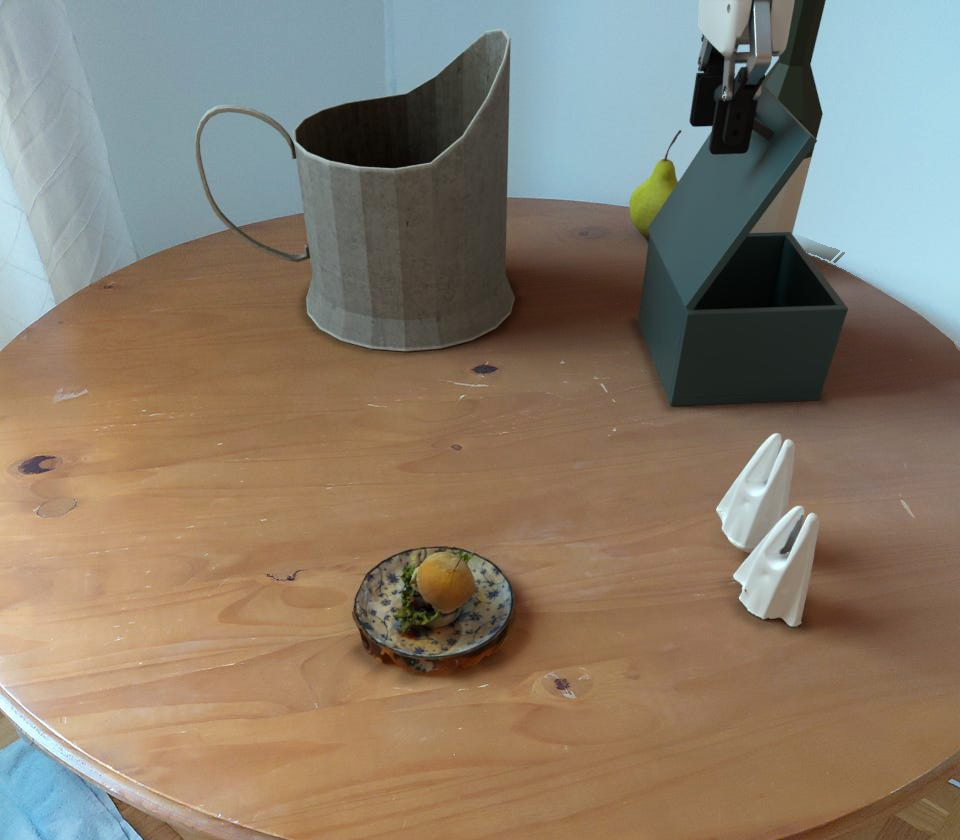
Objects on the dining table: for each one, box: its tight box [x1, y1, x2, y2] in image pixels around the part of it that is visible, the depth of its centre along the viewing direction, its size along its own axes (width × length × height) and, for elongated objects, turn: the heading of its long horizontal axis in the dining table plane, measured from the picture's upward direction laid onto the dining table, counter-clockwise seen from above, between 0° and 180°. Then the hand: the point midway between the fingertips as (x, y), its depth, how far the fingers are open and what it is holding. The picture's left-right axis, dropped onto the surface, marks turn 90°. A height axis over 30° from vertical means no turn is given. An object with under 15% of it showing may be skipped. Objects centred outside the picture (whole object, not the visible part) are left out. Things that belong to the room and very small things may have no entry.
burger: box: [351, 545, 516, 674], centre depth 63 cm, size 12×12×8 cm
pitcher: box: [194, 28, 515, 352], centre depth 90 cm, size 23×32×25 cm
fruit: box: [628, 129, 682, 239], centre depth 107 cm, size 7×7×12 cm
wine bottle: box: [750, 0, 827, 234], centre depth 96 cm, size 8×8×30 cm
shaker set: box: [715, 432, 820, 628], centre depth 65 cm, size 12×4×11 cm, turn 3°
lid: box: [647, 84, 818, 311], centre depth 78 cm, size 16×17×5 cm
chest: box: [637, 232, 849, 407], centre depth 88 cm, size 15×17×9 cm
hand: (717, 136), depth 76 cm, fingers closed on lid, 6 cm apart
